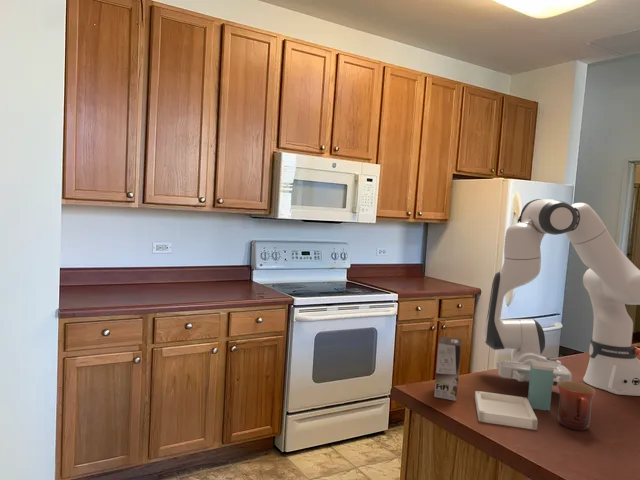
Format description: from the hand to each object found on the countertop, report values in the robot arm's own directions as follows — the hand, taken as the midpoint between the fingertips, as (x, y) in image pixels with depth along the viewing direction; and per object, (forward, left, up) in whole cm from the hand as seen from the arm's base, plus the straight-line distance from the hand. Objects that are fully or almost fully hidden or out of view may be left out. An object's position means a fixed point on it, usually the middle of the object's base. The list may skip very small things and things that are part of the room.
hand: (538, 381), depth 141 cm
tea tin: (0, +2, -7) cm, 7 cm away
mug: (-7, +15, -7) cm, 17 cm away
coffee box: (+25, +3, -7) cm, 26 cm away
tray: (+10, +12, -7) cm, 17 cm away
